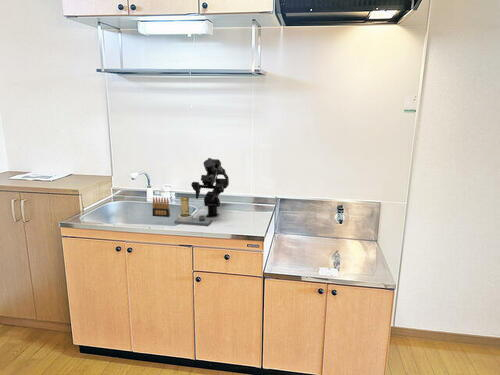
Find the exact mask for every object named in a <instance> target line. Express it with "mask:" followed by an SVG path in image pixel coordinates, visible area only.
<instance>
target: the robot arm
mask: <svg viewBox="0 0 500 375" xmlns="http://www.w3.org/2000/svg"><path fill="white" fill-rule="evenodd" d="M203 167H204V170H205V172H206V174H201V177H200V181H201V183H200V181H193V182H191V187H192V189H193V191H195V198H196V200H198V198H199V197H200V194H201V189H209V191H207V193H205V196H204V198H203V203H204V207H207V214H206V215H205V217H209V218H210V217H212V218H216V217H218V215H219V213H218V208H219V207H221V200H220V198H219V196H220V195H221V194H222V193H224V191H225V189H227V188H228V186H229V185H230V181H229V180H230V179H229V176H228V174H227V173H226V169H224V168H223V166H222V162H221V161H220V159H219V158H218V159H215V158H212V157H208V158H207V159H206V160H204V161H203ZM218 176H223V177H224V178H218ZM210 190H211V191H210Z"/></svg>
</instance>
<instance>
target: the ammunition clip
mask: <svg viewBox="0 0 500 375" xmlns="http://www.w3.org/2000/svg"><path fill="white" fill-rule="evenodd" d="M170 209H171V208H170V202H169V198H168V197H164V198H163V197H159V196H158V197H157V196H156V197H155V196H153V197H152V217H160V218H161V217H162V218H170V217H171V211H170Z"/></svg>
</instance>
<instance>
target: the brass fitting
mask: <svg viewBox="0 0 500 375" xmlns="http://www.w3.org/2000/svg"><path fill="white" fill-rule="evenodd" d="M189 198H190V197H189V196H181V197H180V214H181V217H189V213H190V206H189V205H190V204H189V202H190V199H189Z"/></svg>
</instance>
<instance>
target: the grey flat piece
mask: <svg viewBox="0 0 500 375" xmlns="http://www.w3.org/2000/svg"><path fill="white" fill-rule="evenodd" d="M212 222H213V218H210V217H209V218H207V217H206V215H199V216H198V217H194V215H193V214H192V213H190V212H189V217H181V213H179V214H178V215H177V218H176V219H174V222H173V223H174V224H175V225H188V226H189V225H190V226H201V227H202V226H204V227H209V226H210V225H211V224H212Z"/></svg>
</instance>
